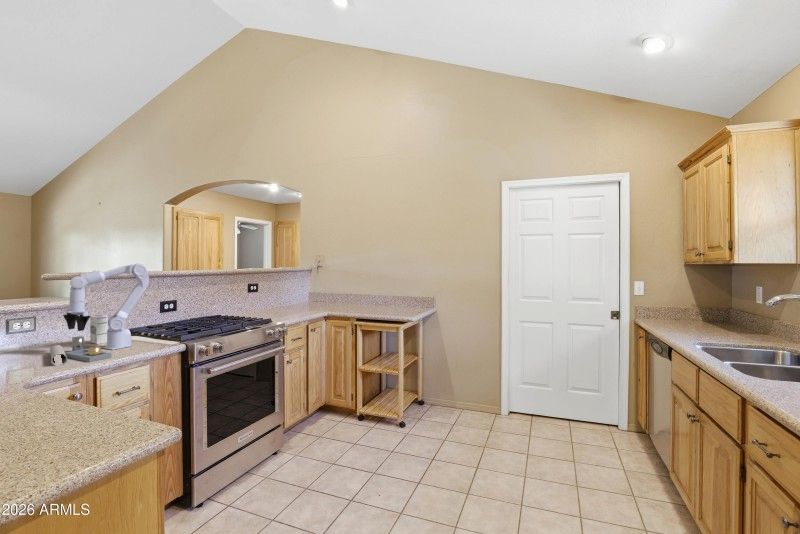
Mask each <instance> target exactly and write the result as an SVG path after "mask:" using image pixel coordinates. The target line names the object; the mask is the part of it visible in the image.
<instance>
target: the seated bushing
mask: <svg viewBox="0 0 800 534" xmlns="http://www.w3.org/2000/svg"><path fill="white" fill-rule="evenodd" d="M101 348H102V347H101V346H91V347H90V346H89V347H88V348H87V349H88V356H96V355H101V351H102V350H101Z"/></svg>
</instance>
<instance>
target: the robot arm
mask: <svg viewBox="0 0 800 534" xmlns="http://www.w3.org/2000/svg"><path fill="white" fill-rule="evenodd" d="M149 272H150V271H149V270H148V267H147V266H146V265H145V264H141V263H134V264H128V265H127V264H126V265H122V266H119V267H117V268H114V269H110V270H107V271H101V270H92V272H88V273H85V274H83V273H82V274H80V276H79V275H78V276H74V277H72V278H71V280H70V282H69V285H70V289H69V290H70V292H69V302H68V303H69V306H68V309H65V314H63V315H62V316H63V319H65V321H66V324H67V325H66V326H67V328H68V330H73V329H74V330H75V328H76V327H77V331H78V332H81V331H85V328H86V325H87V323H88V322H89V319H90V316H91V315H89V311H87V310H85V309H86V308H85V307H86V291H85V289H86V288H85V287H86V286H87V287H89V286H92V285H96V284H99V283H103V282H104V281H105V280H106V279H107V278H112V277H114V276H118V275H124V274H127V275H133V276H134V278H135V280H136V282H137V283H136V285H135V286H134V288H133V289H132V290H131V291H130V293H129V295H128V296H127V297H126V299H125V300H124V302H123V303H122V305H121V306H120V308H119V309H118V310H117V311H116V312H115V313H114V315H112V316H110V317H109V318H108V327H109V328H108V330H107V342H106V344H107V345H106V346H104V347H102V349H104V350H105V349H106V350H110V351H114V350H119V349H124V348H130V347H132V334H131V333H132V332H131V331H130V329H128V328H125V327H124V326H125V322H126V320H127V318H128V316H129V314H130V313H131V311H132V310H133V308H134V307H135V306H136V304H137V303H138V301H139V300H140V298H141V297H142V295H143V294H144V292H145V291H146V290H147V288H148V286H149V284H150V277H149V275H150V273H149ZM76 324H77V326H76Z"/></svg>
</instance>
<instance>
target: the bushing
mask: <svg viewBox="0 0 800 534" xmlns="http://www.w3.org/2000/svg"><path fill="white" fill-rule="evenodd" d="M71 345H72V346H71V347H72V348H71V349H72V350H71V351H76V350H82V349H85V337H84V336H83V335H82V336H74V337H73V336H72V338H71Z"/></svg>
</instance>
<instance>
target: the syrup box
mask: <svg viewBox="0 0 800 534" xmlns="http://www.w3.org/2000/svg"><path fill="white" fill-rule="evenodd" d="M89 316H90V318H89V319H90V320H89V321H90V322H89V323H90V324H89V326H90V327H89V328H90V332H89V333H90V336H89V338H90V343H91V344H93V345H94V344H95V345H99V344H100V343H101V344H107V330H108V329H109V328H108V327H109V325H108V320H109V318H108V317H109V316H108V315H104V314H95V315H89Z"/></svg>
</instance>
